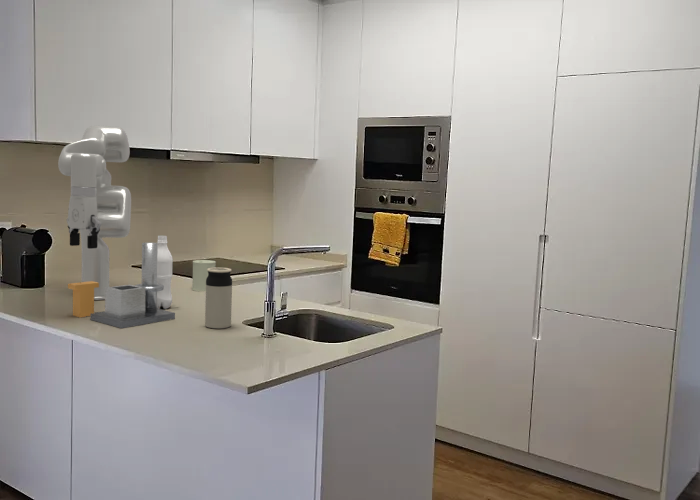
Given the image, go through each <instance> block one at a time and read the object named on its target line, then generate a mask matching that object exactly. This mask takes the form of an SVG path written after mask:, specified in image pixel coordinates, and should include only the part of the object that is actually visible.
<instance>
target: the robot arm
mask: <svg viewBox="0 0 700 500" xmlns="http://www.w3.org/2000/svg"><path fill="white" fill-rule="evenodd" d="M130 151H131V150H130V144H129V139H128V135H127V133H126V131H125V130H124V129H123V128H122V127H119V126H107V125H91V126H89V127H87V128H86V129H85V130H84V133H83V135H82V138H81V139H80V140H78V141H75V142H72V143H68V144H66V145H65V146H64V147H63V148H62V149H61V152H60V155H59V157H58V161H57V162H58V164H57V165H58V166H57V167H58V170H59V172H60V173H61V174H62V175H64V176H66V177H70V197H69V201H68V210H67V217H66V224H67V228H68V233H69V245H70V246H71V247H77V246H81V282H88V281H93V282H98V283H99V287H97V288H94V301H103V300H104V301H105V288H106V287H110V248H109V246H108V244H107V243H106V241H104V240H103V239H105V238H111V239H112V238H114V239H115V238H126V237H127V236H128V235H129V234H130V230H131V219H132V218H131V217H132V194H131V191H130V189H129V188H128V187H126V186H123V185H112V174H111V173H110V171H109V170H108V169H107V163H124V162H127V161H128V160H129V158H130V154H131V153H130ZM80 244H81V245H80Z"/></svg>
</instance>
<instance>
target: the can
mask: <svg viewBox="0 0 700 500" xmlns="http://www.w3.org/2000/svg"><path fill="white" fill-rule="evenodd" d="M216 263H217V261H215V260H209V259H196V260H195V259H194V260H192V286H191V290H192V291H193V290H194V291H195V292H199V291H206V279H207V277H208V271H207V269H208V268H217V267H216V265H217V264H216Z"/></svg>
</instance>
